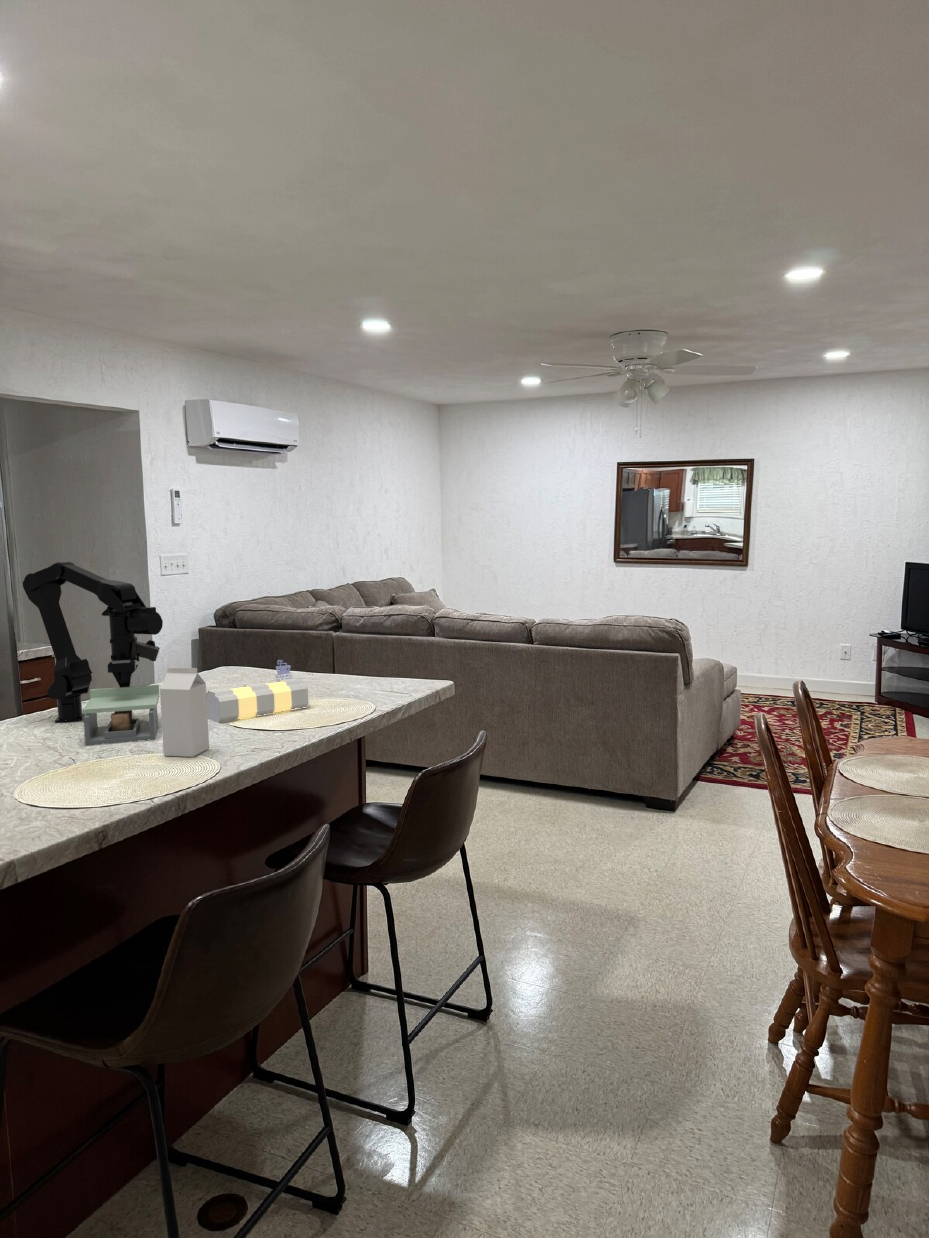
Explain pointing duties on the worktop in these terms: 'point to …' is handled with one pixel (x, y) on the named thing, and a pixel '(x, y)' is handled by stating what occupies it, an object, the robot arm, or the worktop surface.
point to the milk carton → (184, 713)
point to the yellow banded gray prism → (257, 698)
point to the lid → (122, 699)
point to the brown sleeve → (120, 721)
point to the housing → (107, 736)
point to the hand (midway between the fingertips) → (126, 694)
